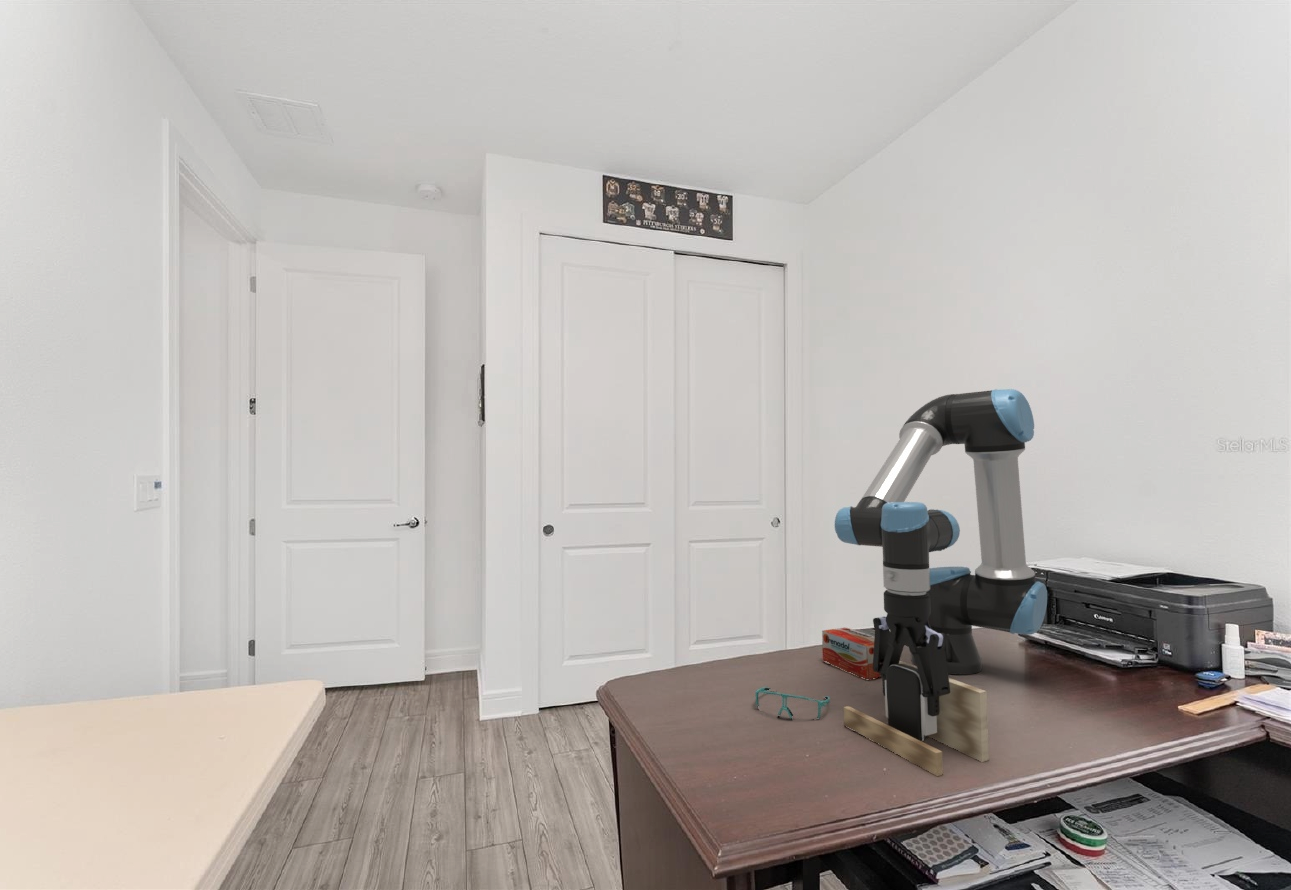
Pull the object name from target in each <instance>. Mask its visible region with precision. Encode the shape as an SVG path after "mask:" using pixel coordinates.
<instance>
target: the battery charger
mask: <svg viewBox="0 0 1291 890" xmlns="http://www.w3.org/2000/svg"><path fill="white" fill-rule="evenodd" d="M886 689H887V705H888V718H887V722H888V723H887V725H889V726H891V727H893V728H895V729H897V730H899V731H901V732H903V733H905V734H907V735H909V736H911V737H913V738H915V739H917V740H919V741H922V742H924V741H925V740H927V739H928V738H929V737H928V735H927V736H925V735H923V734H922V726H921V694H923V693H925V692H924V689H923V686H922V682H921V679H920V676H919V672H918V669H917V668H915V667H912V666H909V665H905V664H897V665H891V666H889V667H888V668H887V672H886Z"/></svg>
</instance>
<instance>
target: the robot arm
mask: <svg viewBox="0 0 1291 890" xmlns="http://www.w3.org/2000/svg"><path fill="white" fill-rule="evenodd" d="M1029 403H1030V402H1028V400H1027V398H1026V397H1025V395H1024V394H1023V393H1022V392H1021V391H1020V390H1017V389H1012V388H1009V389H1006V388H1005V389H1002V388H1001V389H997V388H995V389H991V390H984V391H983V390H982V391H973V392H964V393H963V392H962V393H955V394H954V393H952V394H951V393H950V394H945V395H942V396H941V395H940V396H938V397H936V398H934V399H931V400H930V401H929V402H927V403H925V404H924V405H922V406H921V407H920V408H919V409H917V410H916V411H915V412H913V414H912V415H911V416H909V418H908V419H907V420H906V421H905V422H904V424H903V425H902V427H901V428H900V431H899V434H898V435H899V440H898V441H897V443H896V444H895V446H894V448H893V449H892V451H891V452H890V454H889V456H888V457H887V458H886V460H885V462H884V464H883V465H882V467H881V468H880V469H879V471H878V472H877V474H876V475H875V477H874V478H873V480H872V482H871V484H869V486H868V488H867V489H866V491H865V492H864V494H863V496H862V497H861V499H860V500H859V502H858V503H857V505H856V506H854V507H853V506H847V507H842V508H840V509H839V510H838V511H837V513H836V515H835V518H834V531H835V533H836V535H837V538H838V539H839V540H840V541H841V542H843V543H846V544H850V545H851V544H852V545H857V546H866V547H867V546H869V547H878V548H879V547H881V548H882V571H883V572H882V574H883V575H882V576H883V580H882V581H883V588H885V589H886V590H885V591H884V592H883V610H884V612H885V613H886V616H880V617H874V618H873V619H872V624H873V628H874V636H875V637H874V653H873V670H874V672H878V673H879V674H880V675H881V677H880V678H881V679H882V694H883V697H884V706H885V705H886V717H885V718H887V719H888V705H887V689H886V672H887V668H888V667H889V666H891V665H897V664H899V661H901V658H902V657H901V656H902V654H903V650H904V647H905V646H906V647H908V649H909V652H910V656H911V662H912V664H913V665H914V666H917V669H918V672H919V676H920V679H921V682H922V686H923V689H924V692H925V693H923V694H921V726H922V734H923V735H925V736H927V735H931V734H934V733H937V715H939V713H940V710H939V696H942V695H946V694H949V693H950V685H949V678H950V677H949V675H971V674H977V673H979V672H981V671H982V669H983V668H982V667H983V666H982V657H981V655H980V653H979V650H978V647H977V644H976V641H975V639H974V636H973V627H979V628H982V629H989V630H994V631H995V630H996V631H1001V632H1005V633H1010V634H1012V635H1013V634H1014V635H1015V634H1016V635H1017V634H1018V635H1025V636H1026V635H1027V636H1030V635H1034V634H1035V633H1037V632H1038V631H1039V630H1040V628H1041V627H1042V625H1043V622H1044V619H1045V615H1046V612H1047V608H1048V607H1047V605H1048V590H1047V586H1046V585H1045V583H1044V582H1043V583H1042V582H1041V581H1037V580H1036V573H1035V570H1033V569H1032V568H1030V567H1029V566H1028V564H1027V561H1026V549H1025V548H1026V546H1025V535H1024V534H1025V533H1024V522H1023V510H1022V509H1023V508H1022V497H1021V496H1022V495H1021V483H1020V472H1019V471H1020V470H1019V469H1020V468H1019V456H1020V455H1021V454H1022V453H1023V452H1024V451H1025V450H1026V443H1028V442H1030V441H1031V440H1033V439H1034V435H1035V430H1034V429H1035V421H1034V416H1033V411H1032V407H1031V406H1030V404H1029ZM949 445H964V452H965V454H966V455H968V456H969V457H970V459H972V460H973V471H974V484H975V495H976V497H975V499H976V506H977V508H976V509H977V510H976V511H977V520H978V533H979V535H978V536H979V544H980V556H981V564H980V565H978V566H977V568H976V569H974V574H971V573H972V571H971V569H970V568H969V567H967V566H940V567H939V566H938V567H931V568H930V553H932V552H942V551H944V550H946V549H948V548H950V547H952V546H954V545H955V544H956V543H957V541H958V539H959V537H960V532H961V530H960V524H959V522H958V520H957V519H956V517H955V516H954V515H953V514H951V513H950V512H948V511H946V510H942V509H934V508H933V509H932V508H931V509H928V507H927V505H926V504H925V503H924V502H918V501H915V502H913V501H906V499H907V498H908V496H909V495H910V492H912V491H911V490H912V489H913V487H914V486H915V484H916V483H917V480H919V478H920V476H921V474H922V472H923V471H924V469H925V467H926V465H927V463H928V462H929V460H930V458H931V457H932V456H934V455H937V454H938V453H939V452H940V451H941V449H942V448H943V447H945V446H949ZM880 663H881V664H880ZM931 686H932V688H931Z"/></svg>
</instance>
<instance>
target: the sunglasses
mask: <svg viewBox="0 0 1291 890" xmlns="http://www.w3.org/2000/svg"><path fill="white" fill-rule="evenodd" d="M769 689H771V687H768V686H767V687H766V686H763V687H761V688H758V689H757V690H755V695H754V696H755V703H756V707H757V706H759V707H760V704H759V693H760V694H768V695H775V696H781V699H782V704H781V705H782V706H781V708H780V709H779V711H778V713H777V715H780V716H781V715H782V712H783V711H786V713H787V714H788V716H789V718H790V717H791V718H792V716H793V717H794V714H793V712H792V711H791V709H790V708H789V707H788V704H787V703H788V697H789V698H793V699H794V698H796V699H802V700H807V701H811V702H817V707H818V708H817V709H818V711H817V712H818V713H817V717H818V718H819V717H821V715H822V707H826V705H828V703H830V699H831V698H830V697H829V696H826V695H825V696H824V697H825V698H826V699H827V700H819V699H813V698H812V699H811V698H809V697H806V696H801V695H795V694H786V693H781V692H770V691H767V690H769ZM791 718H790V719H791ZM819 719H820V718H819Z"/></svg>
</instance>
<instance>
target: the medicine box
mask: <svg viewBox="0 0 1291 890" xmlns="http://www.w3.org/2000/svg"><path fill="white" fill-rule="evenodd" d="M821 634H822V635H821V636H822V639H821V640H822V644H821V645H822V661H823V660H824V661H827V662H829V663H830V664H832V665H834V666H837V667H839V668H841V669H843V670H845V671H847V672H851V673H853V674H855V675H857V676H859V677H863V678H865V679H873V678H876V679H878V677H879V678H882V677H881V675H880V674H879V673H878V672H874V670H873V653H874V637H875V635H874V636H873V635H871V634H868V633H865V632H862V631H858V630H855V629H852V628H850V627H849V628H848V627H839V628H831V629H825V630H822V631H821ZM880 664H881V663H880ZM845 671H844V672H845ZM847 672H846V673H847ZM859 677H858V678H859Z"/></svg>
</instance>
